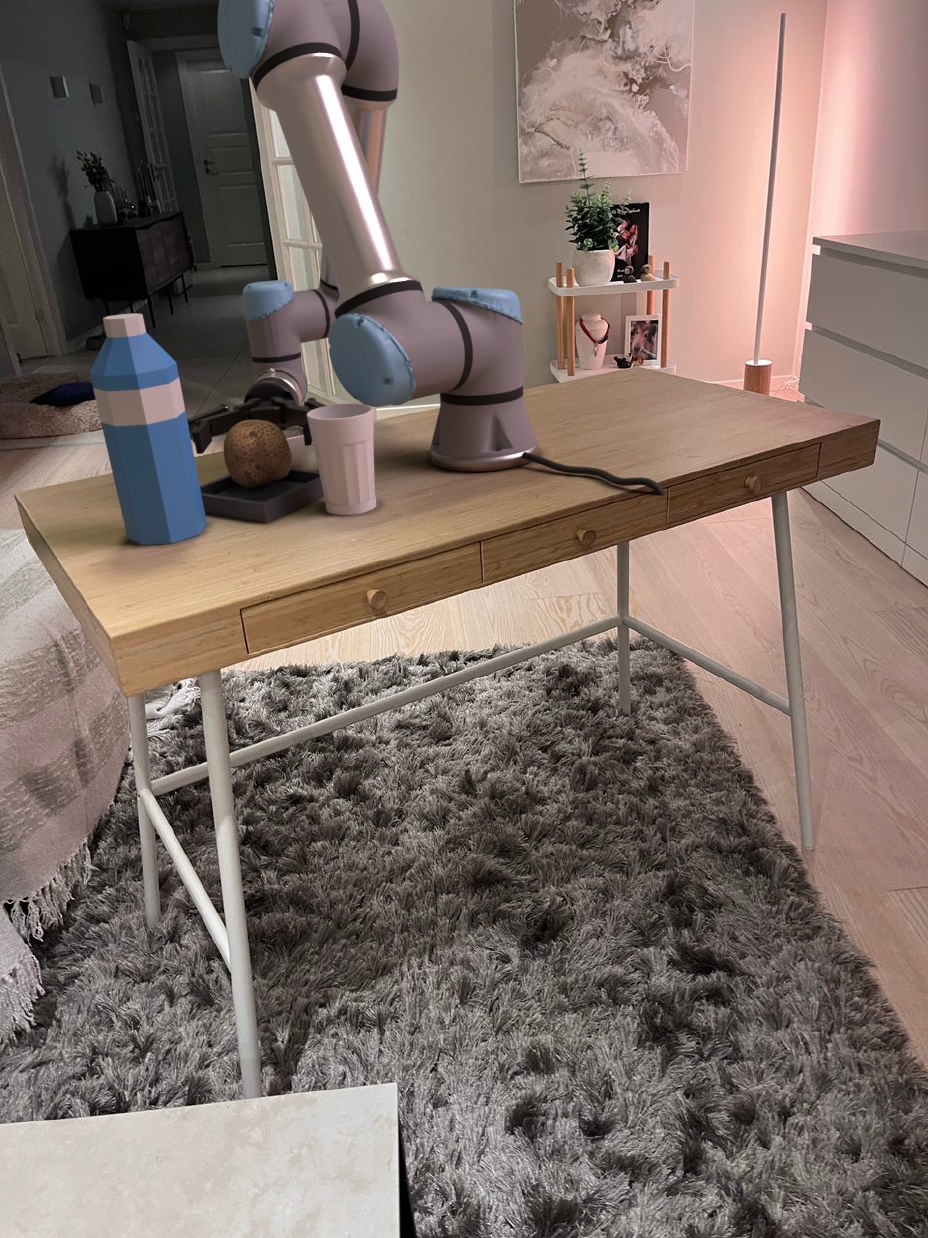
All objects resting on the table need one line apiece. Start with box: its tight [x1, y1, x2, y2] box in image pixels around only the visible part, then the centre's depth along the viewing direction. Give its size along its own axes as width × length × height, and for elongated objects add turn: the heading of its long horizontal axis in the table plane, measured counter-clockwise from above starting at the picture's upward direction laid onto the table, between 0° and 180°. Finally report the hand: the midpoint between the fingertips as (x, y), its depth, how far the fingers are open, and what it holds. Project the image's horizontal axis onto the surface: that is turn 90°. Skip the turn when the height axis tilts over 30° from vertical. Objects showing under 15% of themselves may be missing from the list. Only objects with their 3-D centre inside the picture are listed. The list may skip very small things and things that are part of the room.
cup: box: [307, 403, 377, 516], centre depth 115 cm, size 8×8×12 cm
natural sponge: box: [223, 420, 293, 488], centre depth 123 cm, size 9×9×10 cm
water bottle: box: [89, 312, 208, 546], centre depth 108 cm, size 9×9×25 cm
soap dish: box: [200, 467, 324, 524], centre depth 122 cm, size 14×14×2 cm
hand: (252, 439), depth 118 cm, fingers open, 13 cm apart
